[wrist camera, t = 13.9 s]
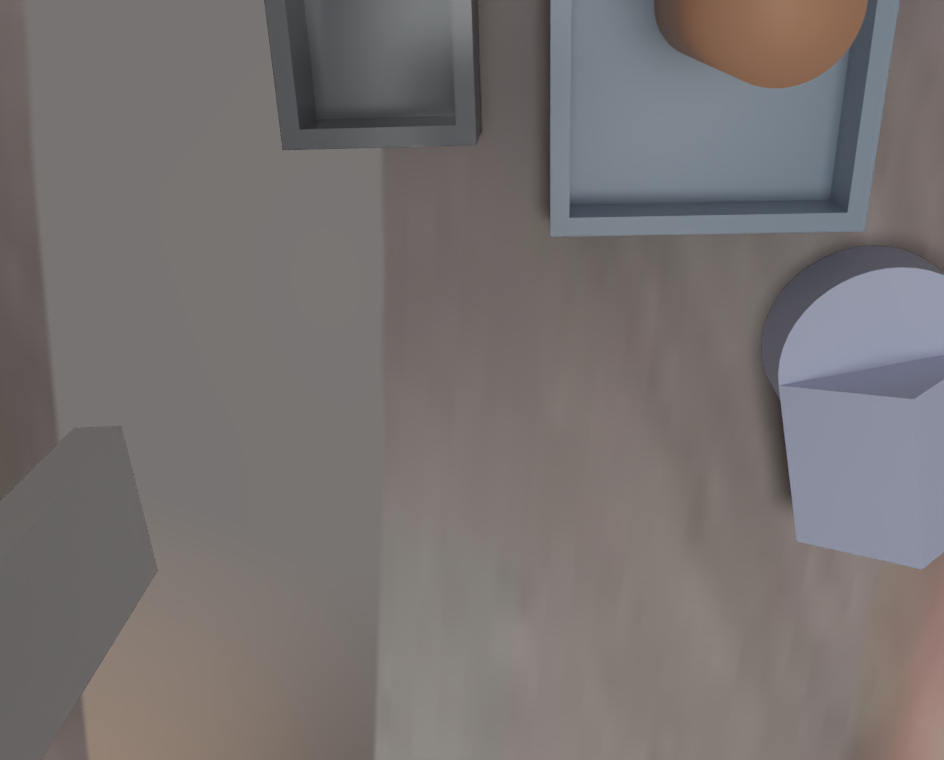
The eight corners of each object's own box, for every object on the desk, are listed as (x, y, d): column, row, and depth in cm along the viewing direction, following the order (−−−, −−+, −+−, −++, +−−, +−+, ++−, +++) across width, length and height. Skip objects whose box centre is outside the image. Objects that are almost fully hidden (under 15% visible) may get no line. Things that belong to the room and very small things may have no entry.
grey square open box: (304, 136, 39) (282, 150, 36) (281, -63, 36) (255, -68, 32) (481, 131, 38) (476, 145, 35) (475, -72, 35) (468, -78, 32)
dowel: (651, 59, 36) (699, 90, 25) (657, -59, 34) (712, -81, 23) (759, 56, 36) (855, 86, 25) (771, -63, 34) (880, -88, 23)
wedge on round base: (962, 474, 44) (956, 226, 39) (1031, 553, 38) (1034, 271, 33) (779, 503, 45) (750, 268, 40) (816, 584, 39) (788, 319, 34)
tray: (549, 219, 40) (550, 236, 37) (549, -256, 32) (550, -279, 30) (841, 214, 39) (864, 231, 36) (910, -279, 31) (945, -304, 29)
